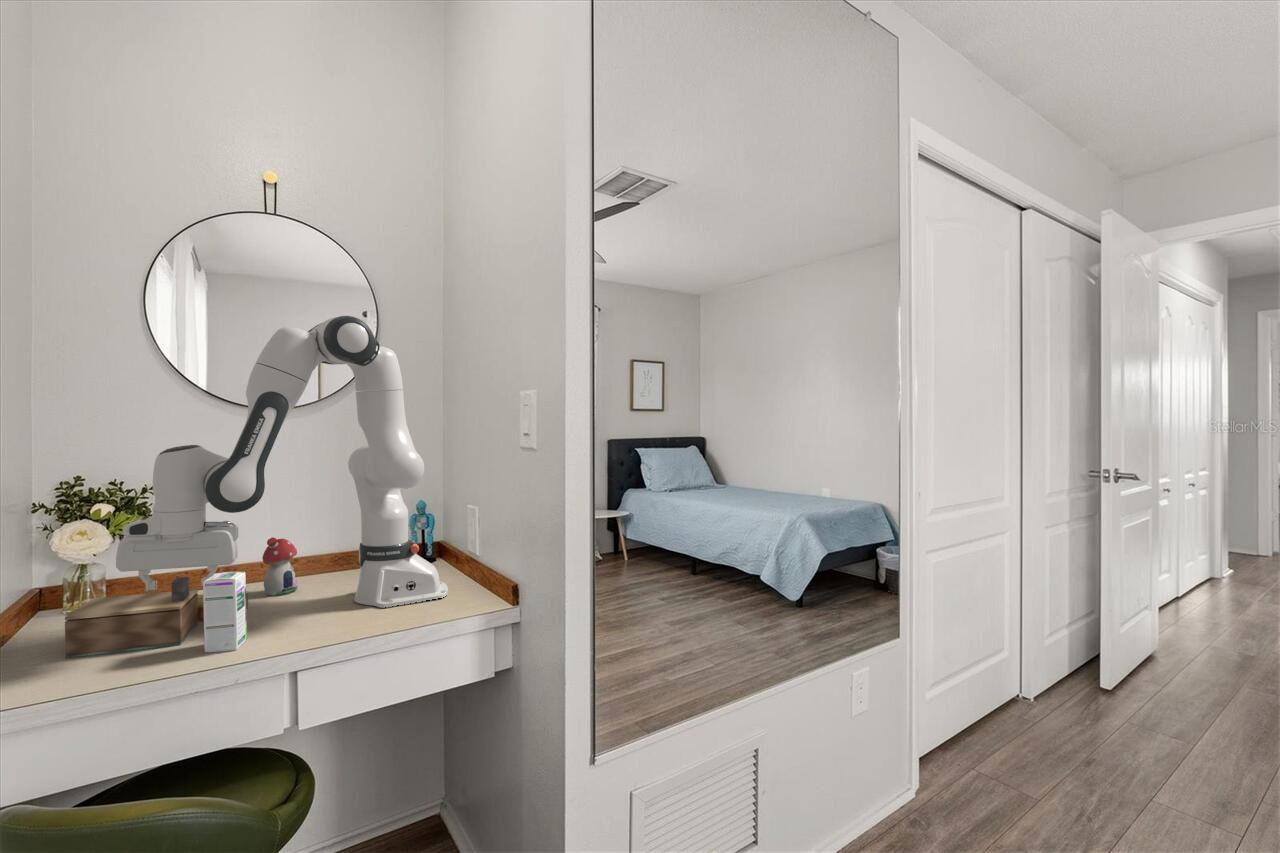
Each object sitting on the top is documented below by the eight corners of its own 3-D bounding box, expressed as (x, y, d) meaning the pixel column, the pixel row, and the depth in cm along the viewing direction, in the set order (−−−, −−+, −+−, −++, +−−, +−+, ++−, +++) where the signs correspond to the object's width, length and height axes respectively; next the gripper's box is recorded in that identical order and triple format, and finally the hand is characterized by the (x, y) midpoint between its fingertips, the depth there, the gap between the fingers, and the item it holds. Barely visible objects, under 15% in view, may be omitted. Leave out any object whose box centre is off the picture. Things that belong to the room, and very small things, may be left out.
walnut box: (197, 624, 132) (197, 593, 132) (180, 644, 121) (180, 610, 121) (93, 635, 125) (93, 602, 125) (65, 658, 114) (64, 621, 114)
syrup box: (237, 650, 119) (237, 578, 118) (202, 653, 117) (202, 580, 117) (247, 639, 124) (247, 570, 124) (214, 642, 123) (214, 572, 122)
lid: (197, 592, 132) (197, 571, 132) (180, 609, 121) (180, 586, 121) (93, 601, 125) (93, 579, 125) (64, 620, 114) (64, 596, 114)
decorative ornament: (271, 599, 150) (271, 539, 149) (253, 595, 152) (253, 537, 152) (305, 589, 159) (304, 533, 158) (287, 586, 161) (287, 530, 161)
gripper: (241, 518, 132) (241, 580, 132) (125, 522, 124) (124, 588, 124) (234, 523, 126) (234, 588, 127) (112, 528, 118) (112, 597, 119)
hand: (179, 588), depth 125 cm, fingers open, 8 cm apart
